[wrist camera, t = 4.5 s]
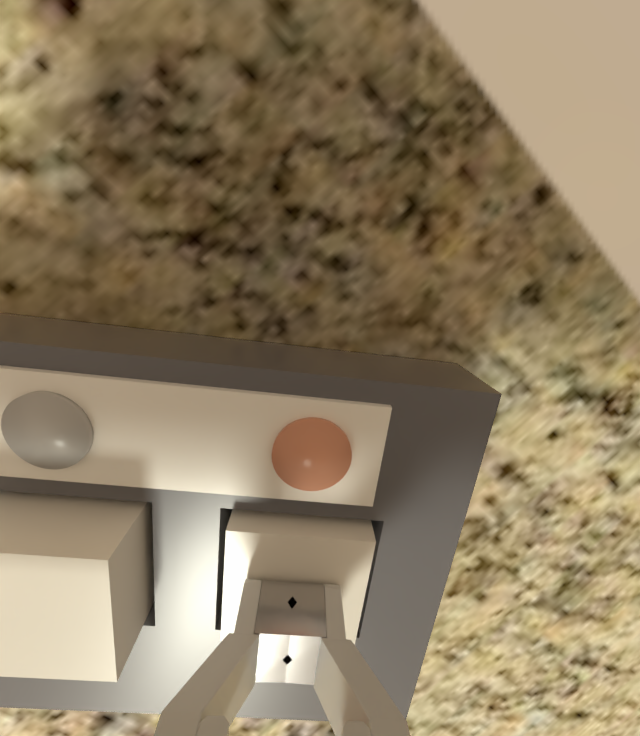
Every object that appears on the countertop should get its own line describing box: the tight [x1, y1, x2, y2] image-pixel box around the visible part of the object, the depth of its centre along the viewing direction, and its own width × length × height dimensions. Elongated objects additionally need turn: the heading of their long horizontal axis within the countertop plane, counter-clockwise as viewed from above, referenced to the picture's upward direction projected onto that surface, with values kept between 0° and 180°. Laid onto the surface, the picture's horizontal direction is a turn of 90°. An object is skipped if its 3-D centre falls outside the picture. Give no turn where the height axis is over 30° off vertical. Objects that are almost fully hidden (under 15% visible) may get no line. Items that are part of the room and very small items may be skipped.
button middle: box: [0, 490, 155, 682], centre depth 10 cm, size 4×4×3 cm
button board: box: [0, 313, 501, 721], centre depth 12 cm, size 24×14×3 cm, turn 83°
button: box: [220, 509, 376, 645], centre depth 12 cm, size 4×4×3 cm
